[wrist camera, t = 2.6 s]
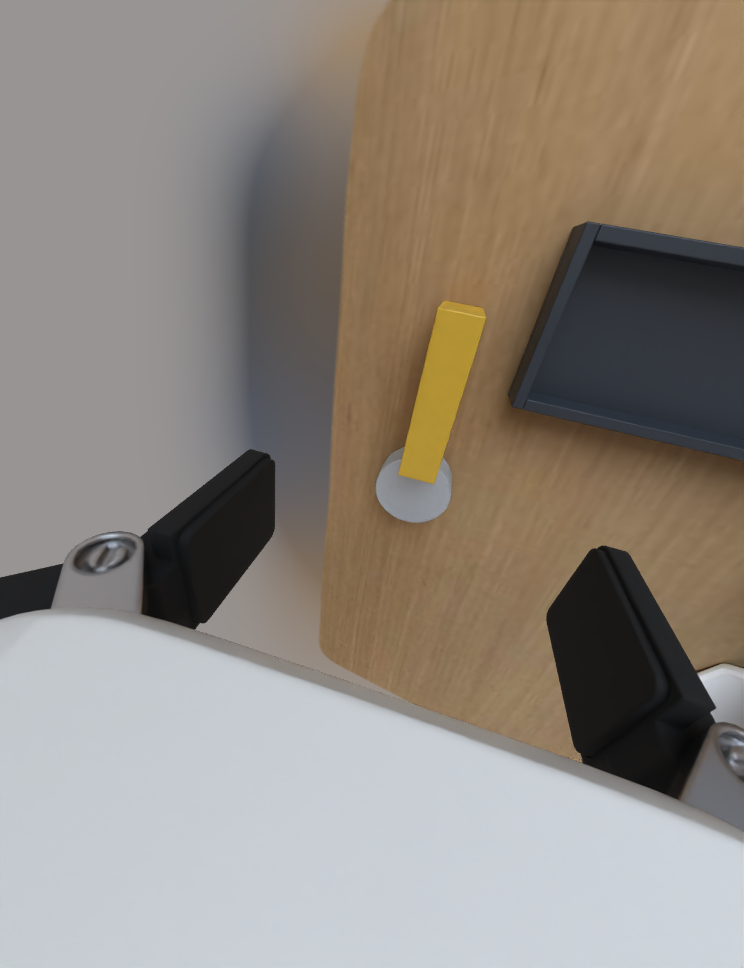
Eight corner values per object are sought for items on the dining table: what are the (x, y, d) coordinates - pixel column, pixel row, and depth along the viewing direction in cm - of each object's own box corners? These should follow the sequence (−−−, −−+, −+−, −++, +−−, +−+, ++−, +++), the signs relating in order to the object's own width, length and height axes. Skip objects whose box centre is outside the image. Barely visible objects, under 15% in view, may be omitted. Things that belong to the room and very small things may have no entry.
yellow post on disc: (417, 294, 19) (405, 300, 15) (511, 313, 18) (521, 324, 15) (376, 496, 27) (361, 532, 23) (441, 514, 26) (436, 553, 23)
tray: (507, 394, 21) (511, 407, 19) (573, 226, 16) (587, 220, 14) (834, 469, 19) (875, 492, 17) (1013, 302, 14) (1097, 307, 12)
